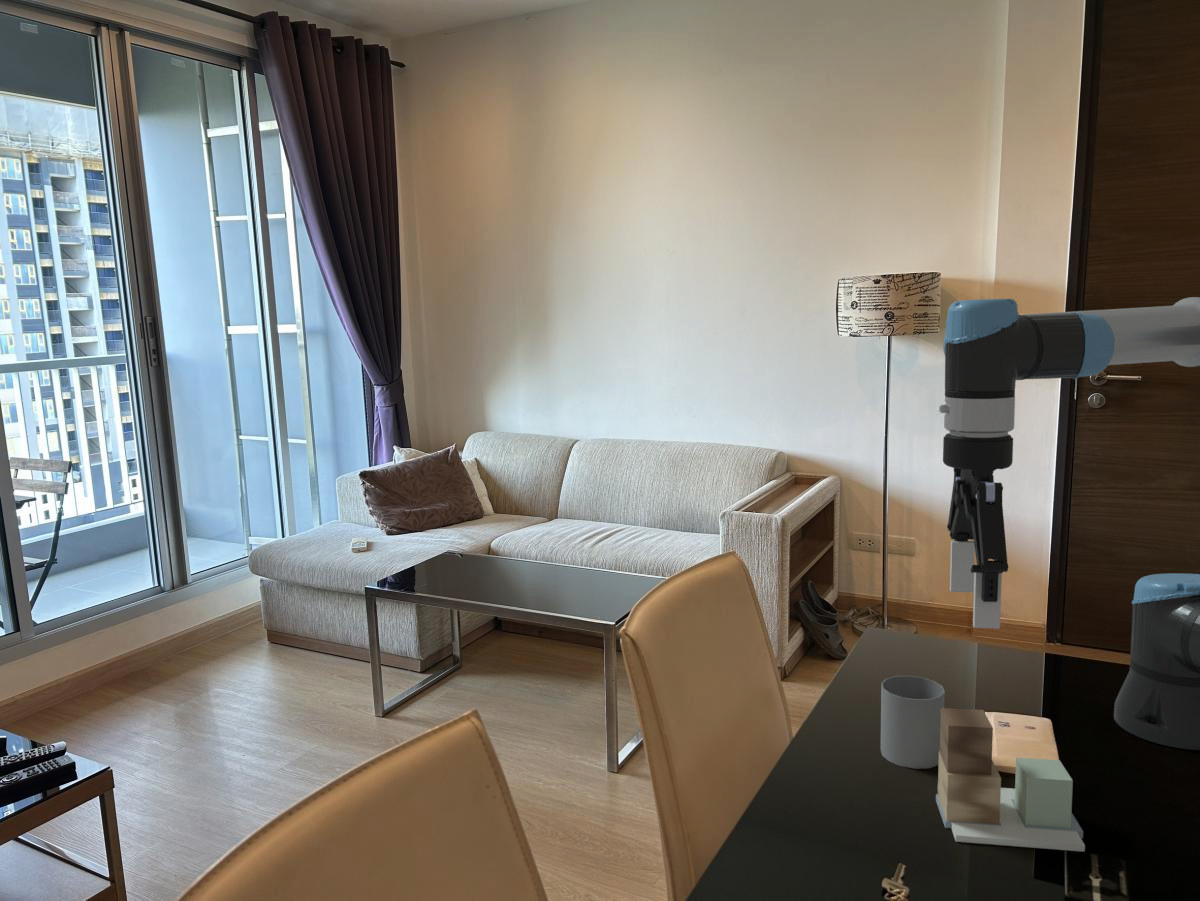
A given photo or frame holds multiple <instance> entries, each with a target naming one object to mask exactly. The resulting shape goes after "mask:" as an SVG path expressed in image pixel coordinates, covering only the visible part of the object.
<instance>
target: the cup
mask: <svg viewBox="0 0 1200 901" xmlns="http://www.w3.org/2000/svg"><path fill="white" fill-rule="evenodd" d="M880 690H881V693H880V698H881V699H880V703H881V704H880V753H881V756H882V757H883V758H885V759H886V760H887V761H888V762H890V763H892V764H894V765H897V766H900V767H903V768H908V769H916V770H918V769H931V768H934V767H936V766H939V751H940V724H941V708H945V696H946V694H945V693H946V692H945V689H944V687H943V685H941V684H939V683H938V682H936V681H935V680H932V679H928V678H926V677H920V676H914V675H896V676H895V675H894V676H892V677H889V678H888V677H887V678H885V679H884V680H883V681H882V682H881V689H880Z"/></svg>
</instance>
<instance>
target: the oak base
mask: <svg viewBox="0 0 1200 901" xmlns="http://www.w3.org/2000/svg"><path fill="white" fill-rule="evenodd" d="M937 774H938V776H937V778H938V779H937V794H938V797H939V800H940V803H941V805H942V808H943V811H944V814H945V817H946V820H947V821H957V822H971V823H985V824H998V825H1000V794H1001V788H1002V777H1001V775H1000V773H999V771H998V769H997V767H996V764H995V763H994V761H993V760H992V772H991V775H979V774H963V773H948V772H947V770H946V768H945V765H944V762H943V760H942V757H941V755H940V751H939V765H938V773H937Z"/></svg>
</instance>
